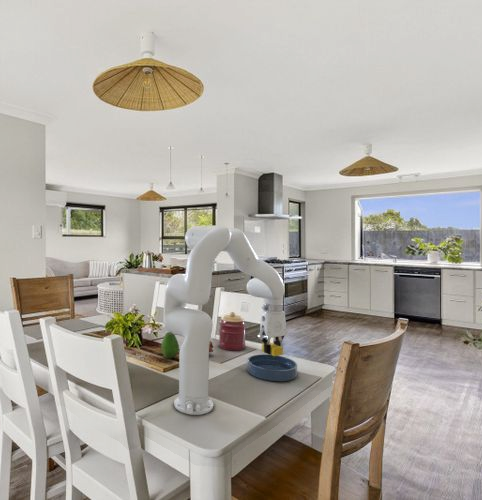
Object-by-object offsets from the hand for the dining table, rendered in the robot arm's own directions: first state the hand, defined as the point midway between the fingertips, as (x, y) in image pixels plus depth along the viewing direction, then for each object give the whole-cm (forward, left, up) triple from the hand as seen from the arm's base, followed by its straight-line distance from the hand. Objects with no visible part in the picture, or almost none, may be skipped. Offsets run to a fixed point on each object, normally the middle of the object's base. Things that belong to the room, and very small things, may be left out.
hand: (272, 352), depth 146 cm
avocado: (+13, +42, -9) cm, 45 cm away
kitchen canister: (+33, +12, -9) cm, 36 cm away
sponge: (0, 0, 0) cm, 0 cm away
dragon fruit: (+18, +27, -9) cm, 34 cm away
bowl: (0, 0, -9) cm, 9 cm away
